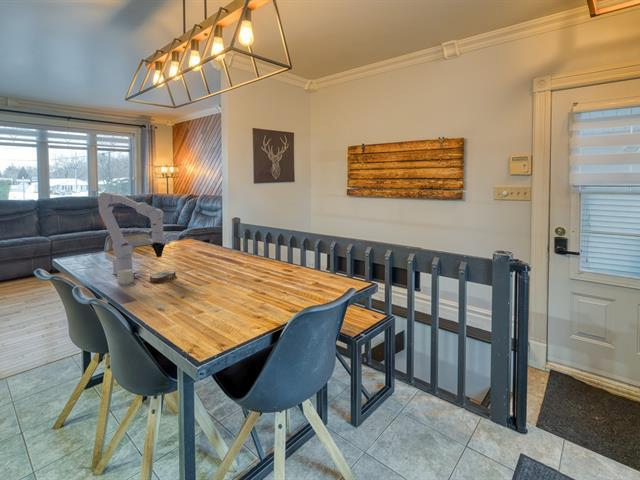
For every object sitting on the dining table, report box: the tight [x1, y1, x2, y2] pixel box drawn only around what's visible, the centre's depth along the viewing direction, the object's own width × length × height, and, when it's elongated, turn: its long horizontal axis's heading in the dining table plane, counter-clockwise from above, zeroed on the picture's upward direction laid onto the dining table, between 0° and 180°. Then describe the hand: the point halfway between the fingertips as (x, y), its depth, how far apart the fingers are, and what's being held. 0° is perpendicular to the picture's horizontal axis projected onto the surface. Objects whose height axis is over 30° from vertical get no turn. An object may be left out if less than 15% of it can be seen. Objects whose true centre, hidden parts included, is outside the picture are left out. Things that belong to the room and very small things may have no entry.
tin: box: [149, 270, 177, 284], centre depth 183 cm, size 15×3×8 cm
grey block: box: [116, 269, 135, 285], centre depth 177 cm, size 5×5×6 cm
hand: (159, 256), depth 192 cm, fingers closed
